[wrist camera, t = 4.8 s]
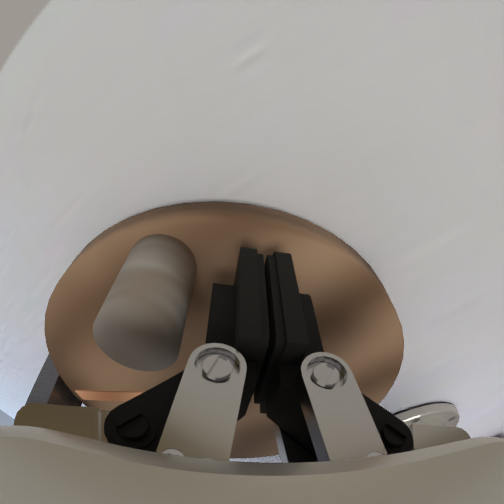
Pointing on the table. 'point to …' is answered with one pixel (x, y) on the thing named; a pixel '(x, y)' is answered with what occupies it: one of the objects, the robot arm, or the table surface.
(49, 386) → the index pointer
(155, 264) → the disc
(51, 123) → the table surface
